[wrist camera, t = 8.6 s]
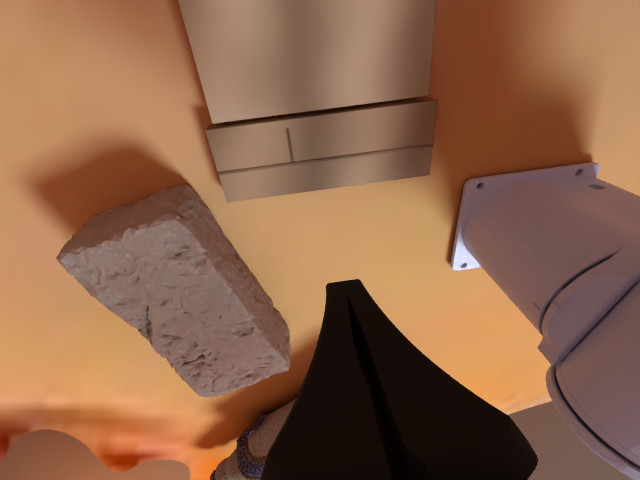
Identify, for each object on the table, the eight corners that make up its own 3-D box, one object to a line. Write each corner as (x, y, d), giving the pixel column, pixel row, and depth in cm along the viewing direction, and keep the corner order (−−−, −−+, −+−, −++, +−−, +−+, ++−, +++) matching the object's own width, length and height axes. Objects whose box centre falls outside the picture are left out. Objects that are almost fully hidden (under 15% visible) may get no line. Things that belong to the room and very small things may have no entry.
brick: (82, 220, 20) (33, 263, 16) (191, 174, 19) (167, 208, 15) (215, 355, 29) (204, 403, 25) (294, 329, 28) (295, 375, 24)
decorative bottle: (352, 343, 30) (368, 412, 24) (392, 372, 33) (414, 438, 28) (190, 442, 37) (174, 512, 32) (237, 458, 41) (230, 522, 35)
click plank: (431, -73, 14) (443, -84, 13) (420, 93, 18) (429, 95, 16) (172, -43, 14) (163, -52, 13) (216, 119, 17) (212, 123, 16)
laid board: (428, 97, 18) (437, 100, 17) (422, 168, 20) (429, 175, 19) (209, 125, 17) (204, 130, 16) (229, 194, 20) (226, 202, 19)
